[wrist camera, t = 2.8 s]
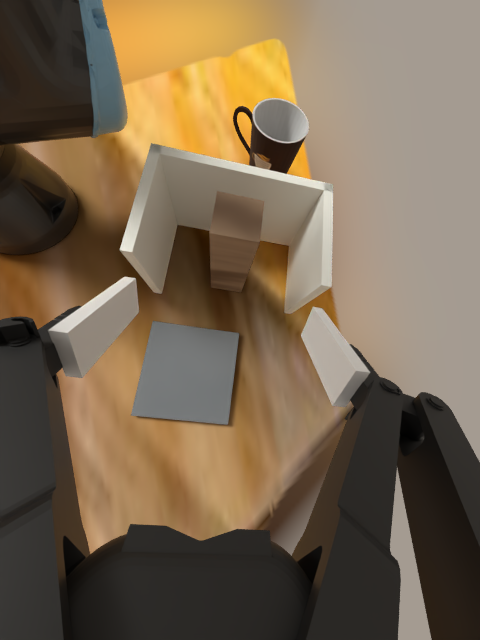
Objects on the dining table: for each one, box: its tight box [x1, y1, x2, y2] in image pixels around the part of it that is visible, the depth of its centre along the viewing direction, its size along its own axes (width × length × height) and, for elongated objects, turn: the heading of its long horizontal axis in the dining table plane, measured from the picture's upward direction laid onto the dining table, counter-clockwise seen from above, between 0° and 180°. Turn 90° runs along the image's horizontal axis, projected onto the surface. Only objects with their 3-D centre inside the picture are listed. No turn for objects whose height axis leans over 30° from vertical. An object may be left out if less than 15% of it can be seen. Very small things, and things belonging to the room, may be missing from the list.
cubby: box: [120, 143, 333, 314], centre depth 28 cm, size 14×22×12 cm, turn 83°
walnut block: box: [209, 191, 264, 292], centre depth 27 cm, size 5×5×14 cm
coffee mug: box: [233, 98, 309, 174], centre depth 35 cm, size 12×9×10 cm
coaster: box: [131, 321, 239, 425], centre depth 29 cm, size 13×13×1 cm
